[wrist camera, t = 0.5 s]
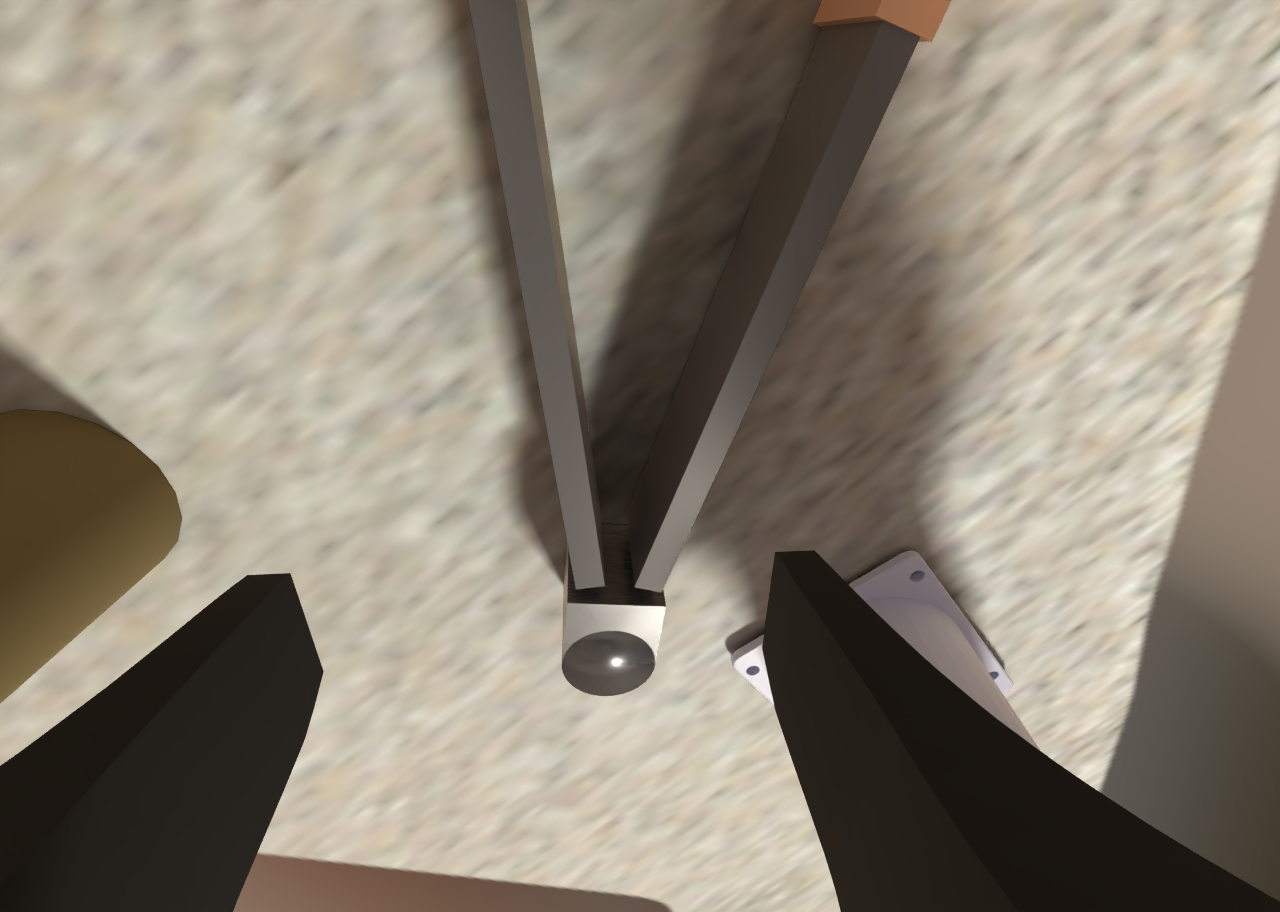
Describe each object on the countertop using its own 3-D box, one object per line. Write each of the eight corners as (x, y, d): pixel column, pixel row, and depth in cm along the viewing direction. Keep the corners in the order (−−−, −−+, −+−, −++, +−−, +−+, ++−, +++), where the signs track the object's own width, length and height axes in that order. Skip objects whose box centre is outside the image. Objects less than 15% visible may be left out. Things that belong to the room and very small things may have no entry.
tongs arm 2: (607, 509, 22) (611, 588, 18) (569, 513, 22) (568, 592, 18) (506, -213, 13) (483, -299, 10) (443, -207, 13) (400, -291, 10)
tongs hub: (639, 610, 24) (648, 696, 21) (561, 607, 24) (558, 695, 21) (653, 526, 22) (665, 606, 19) (568, 521, 22) (567, 603, 19)
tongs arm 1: (655, 518, 22) (668, 596, 19) (620, 510, 22) (628, 588, 19) (927, -116, 14) (1028, -165, 11) (877, -141, 14) (968, -199, 11)
